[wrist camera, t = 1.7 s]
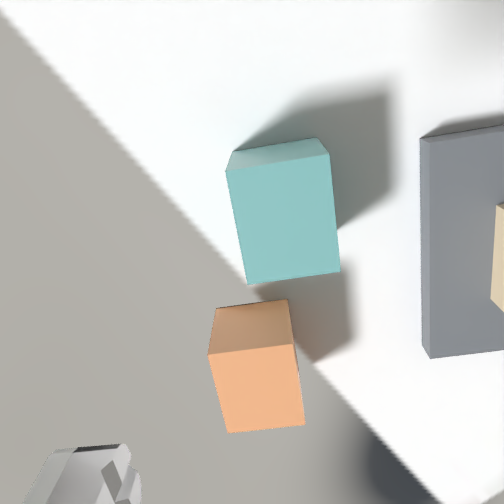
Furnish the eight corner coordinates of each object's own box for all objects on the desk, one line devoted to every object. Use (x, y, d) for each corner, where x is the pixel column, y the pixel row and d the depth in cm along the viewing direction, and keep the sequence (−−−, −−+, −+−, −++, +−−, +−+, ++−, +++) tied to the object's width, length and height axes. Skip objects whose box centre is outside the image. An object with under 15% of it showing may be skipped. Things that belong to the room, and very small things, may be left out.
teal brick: (232, 151, 24) (225, 171, 20) (316, 137, 24) (329, 154, 19) (250, 247, 26) (247, 284, 22) (327, 235, 26) (340, 271, 21)
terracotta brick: (216, 307, 28) (207, 354, 24) (287, 298, 28) (292, 343, 23) (232, 378, 31) (227, 433, 26) (298, 370, 30) (305, 424, 26)
